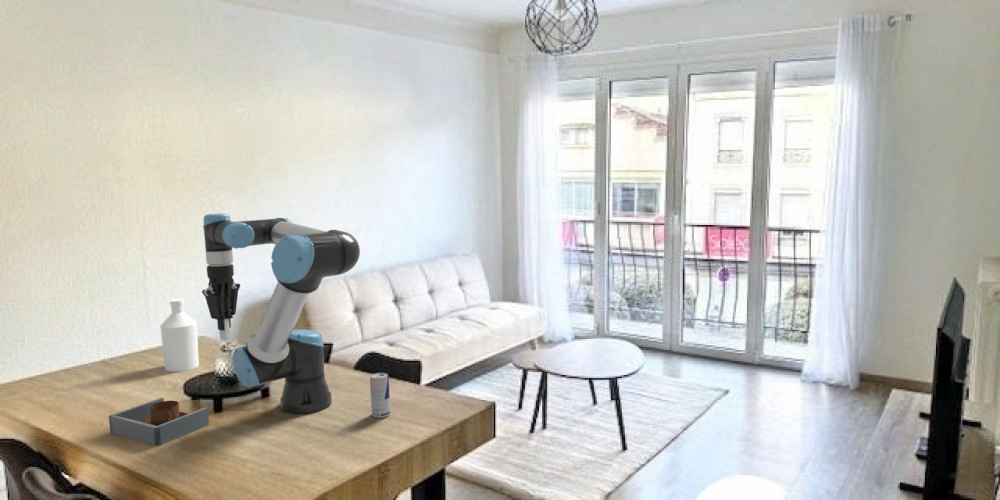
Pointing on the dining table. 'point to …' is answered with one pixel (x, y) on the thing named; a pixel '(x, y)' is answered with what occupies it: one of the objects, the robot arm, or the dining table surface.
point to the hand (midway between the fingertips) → (225, 339)
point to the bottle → (179, 339)
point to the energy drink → (380, 395)
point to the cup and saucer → (163, 413)
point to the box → (134, 428)
